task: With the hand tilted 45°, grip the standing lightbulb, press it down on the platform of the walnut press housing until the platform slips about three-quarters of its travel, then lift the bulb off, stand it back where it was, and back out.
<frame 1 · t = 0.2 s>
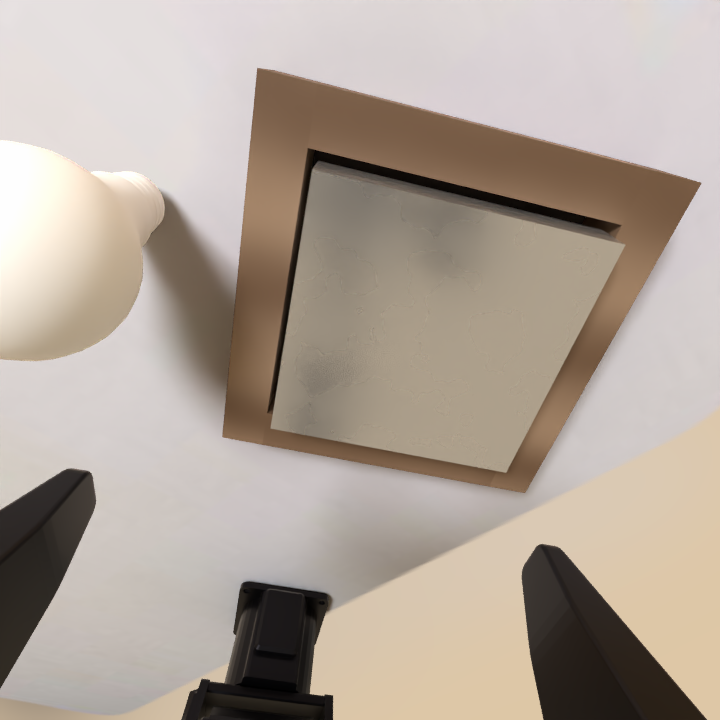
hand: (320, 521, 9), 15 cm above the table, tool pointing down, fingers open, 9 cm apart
press housing: (417, 302, 23), on the table
platform: (423, 336, 20), point 3 cm above the table, slide at 0.0 cm
lightbulb: (144, 197, 21), on the table
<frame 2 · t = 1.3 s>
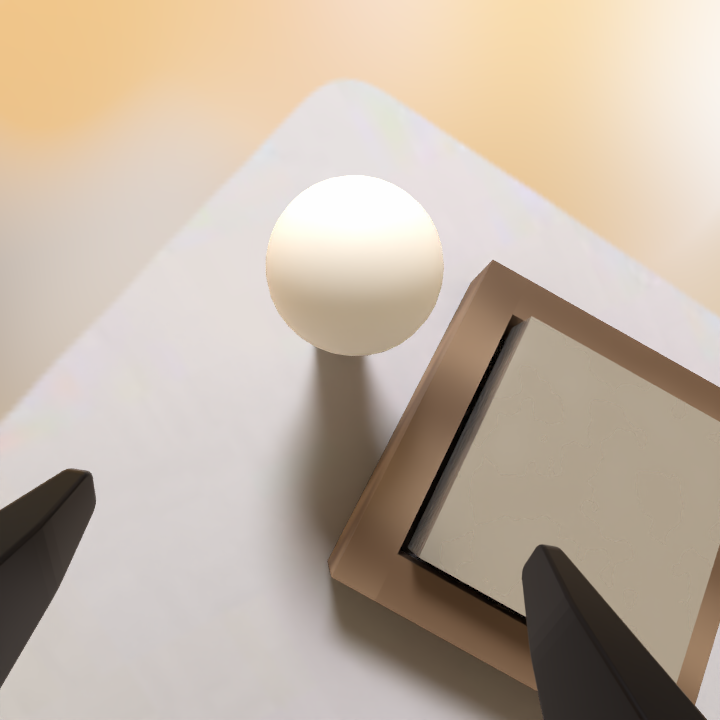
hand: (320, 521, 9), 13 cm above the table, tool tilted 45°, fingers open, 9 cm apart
press housing: (542, 487, 24), on the table
platform: (583, 492, 20), point 3 cm above the table, slide at 0.0 cm
lightbulb: (337, 330, 24), on the table
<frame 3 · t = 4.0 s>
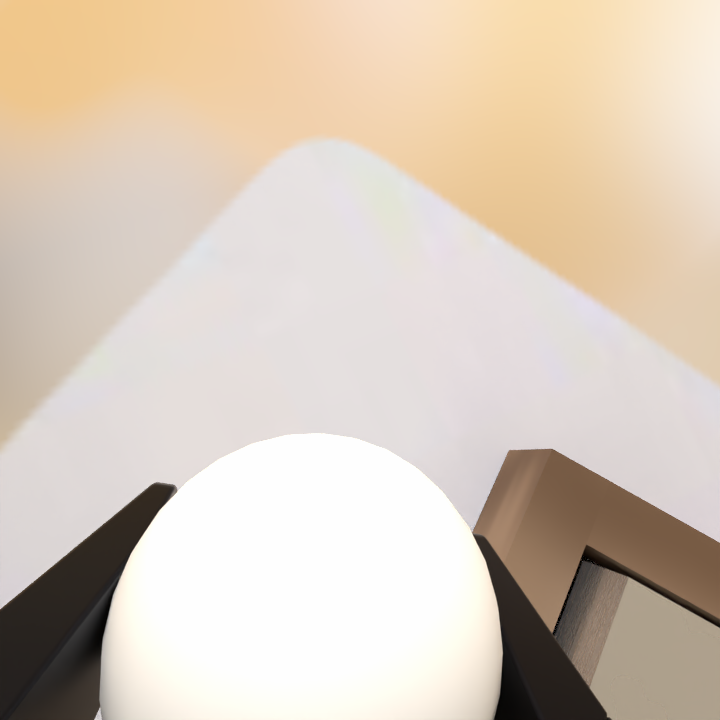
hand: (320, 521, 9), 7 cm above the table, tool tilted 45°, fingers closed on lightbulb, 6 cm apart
lightbulb: (305, 537, 16), on the table, touching gripper
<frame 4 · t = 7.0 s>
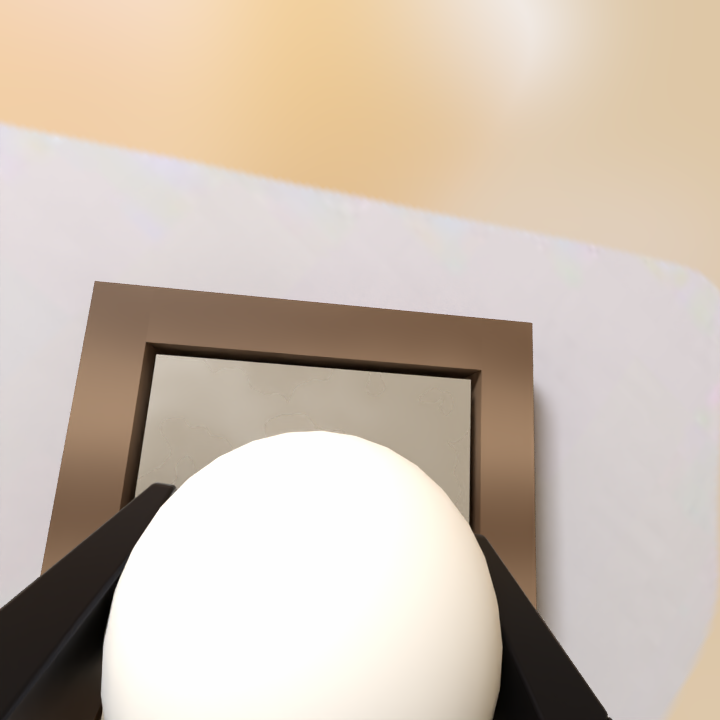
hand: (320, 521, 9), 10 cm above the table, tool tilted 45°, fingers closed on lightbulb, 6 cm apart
press housing: (305, 520, 18), on the table
platform: (305, 527, 17), point 2 cm above the table, slide at -1.5 cm, touching lightbulb
lightbulb: (303, 537, 16), point 3 cm above the table, touching gripper, platform
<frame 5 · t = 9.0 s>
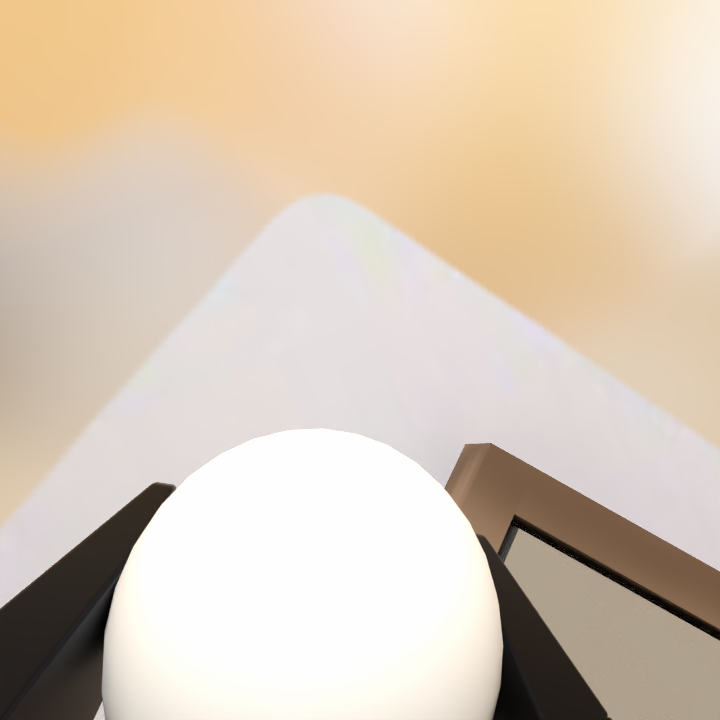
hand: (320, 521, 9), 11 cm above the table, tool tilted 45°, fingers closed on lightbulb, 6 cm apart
press housing: (549, 703, 20), on the table
lightbulb: (304, 537, 16), point 5 cm above the table, touching gripper
when the fingers open (8 cm above the table, at t = 10.5 s): lightbulb drops 1 cm, on the table.
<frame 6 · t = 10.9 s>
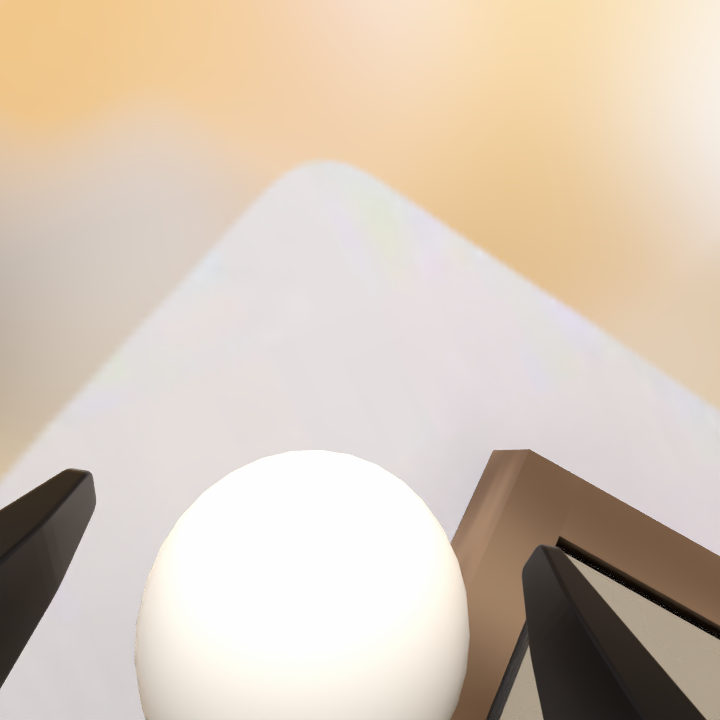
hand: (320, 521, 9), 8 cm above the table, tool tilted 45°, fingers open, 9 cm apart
lightbulb: (299, 538, 17), on the table
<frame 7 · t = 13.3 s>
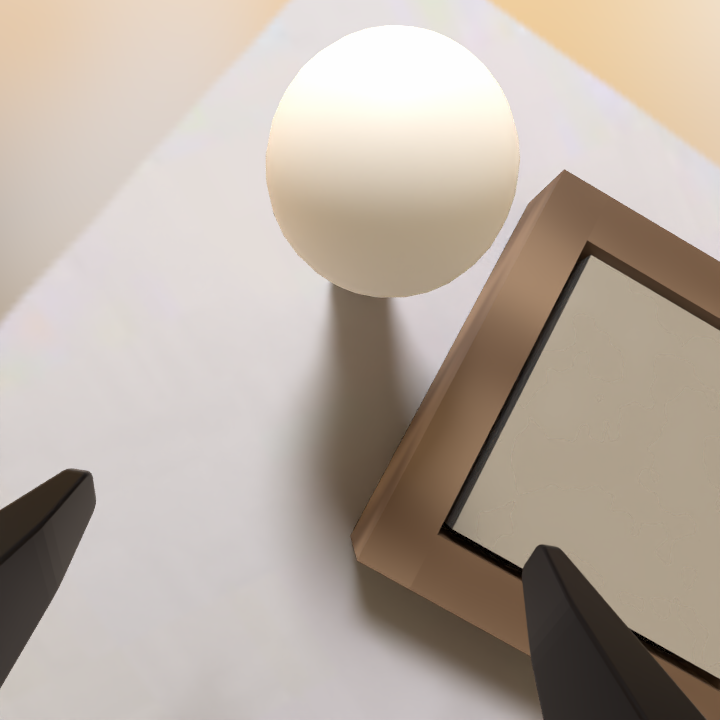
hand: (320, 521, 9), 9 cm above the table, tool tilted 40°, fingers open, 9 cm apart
press housing: (607, 454, 20), on the table
platform: (639, 459, 18), point 2 cm above the table, slide at -1.5 cm
lightbulb: (357, 267, 20), on the table
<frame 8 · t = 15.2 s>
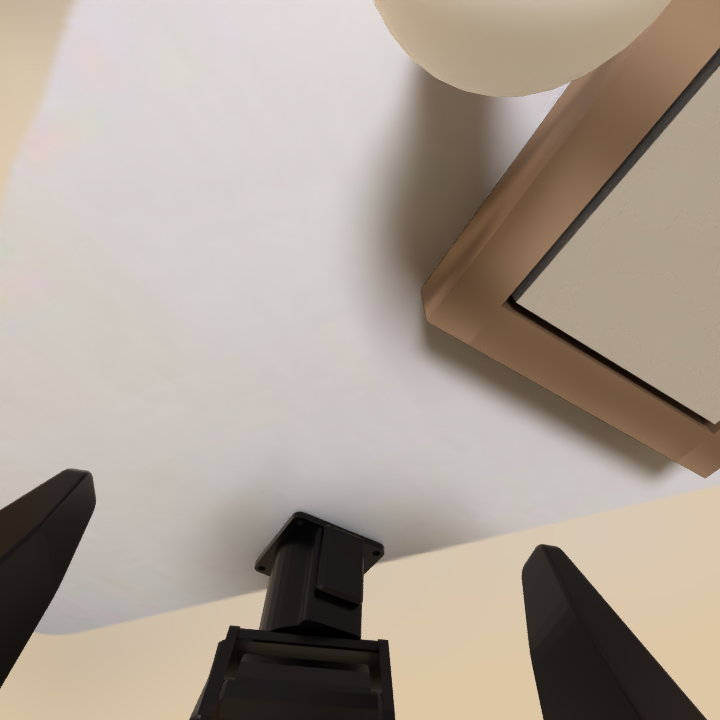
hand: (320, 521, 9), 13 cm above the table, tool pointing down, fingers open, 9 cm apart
press housing: (698, 228, 19), on the table
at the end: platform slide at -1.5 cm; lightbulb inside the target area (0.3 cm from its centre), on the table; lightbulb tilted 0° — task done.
